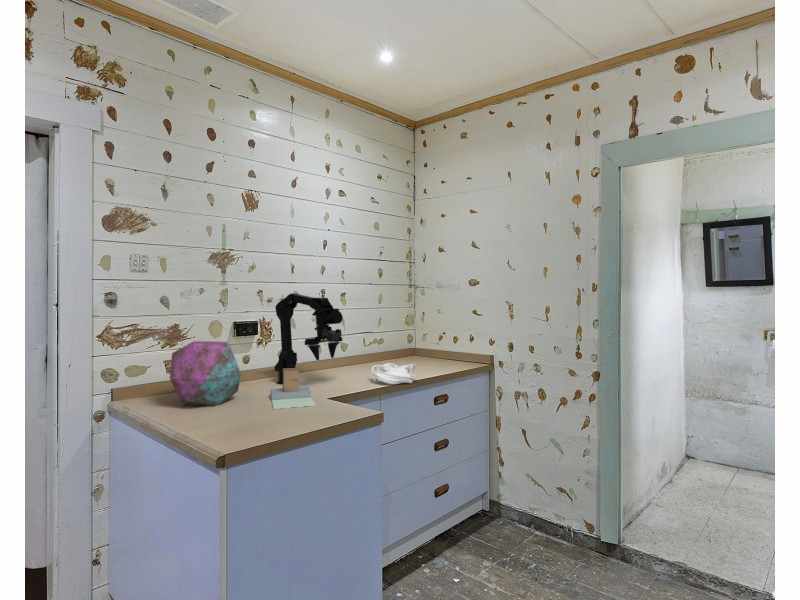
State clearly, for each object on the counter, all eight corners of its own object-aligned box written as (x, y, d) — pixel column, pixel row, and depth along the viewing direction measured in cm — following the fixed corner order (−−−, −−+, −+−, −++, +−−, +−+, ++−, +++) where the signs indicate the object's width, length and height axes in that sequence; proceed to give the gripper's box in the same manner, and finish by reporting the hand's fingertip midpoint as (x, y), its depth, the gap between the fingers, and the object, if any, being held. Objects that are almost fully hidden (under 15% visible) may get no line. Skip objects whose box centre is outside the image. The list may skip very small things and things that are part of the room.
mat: (271, 401, 197) (271, 400, 197) (311, 398, 202) (311, 397, 202) (273, 409, 184) (273, 408, 184) (315, 406, 189) (315, 405, 189)
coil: (398, 376, 256) (397, 359, 256) (428, 382, 237) (428, 363, 237) (359, 383, 240) (358, 364, 240) (388, 389, 221) (387, 369, 221)
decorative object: (137, 399, 185) (174, 347, 209) (206, 436, 195) (233, 382, 219) (169, 360, 170) (205, 308, 194) (242, 402, 180) (267, 348, 204)
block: (282, 389, 205) (282, 368, 205) (297, 388, 207) (297, 367, 207) (283, 392, 200) (283, 370, 199) (298, 391, 201) (298, 370, 201)
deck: (270, 396, 206) (270, 389, 206) (308, 393, 211) (308, 386, 211) (271, 400, 198) (271, 393, 198) (310, 398, 203) (310, 391, 203)
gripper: (320, 325, 206) (323, 361, 206) (349, 322, 222) (352, 356, 221) (302, 326, 213) (305, 361, 213) (332, 324, 228) (334, 356, 228)
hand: (325, 359), depth 218 cm, fingers open, 9 cm apart
